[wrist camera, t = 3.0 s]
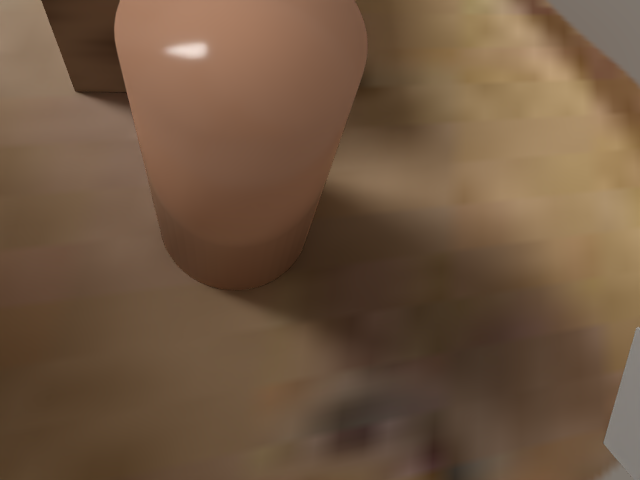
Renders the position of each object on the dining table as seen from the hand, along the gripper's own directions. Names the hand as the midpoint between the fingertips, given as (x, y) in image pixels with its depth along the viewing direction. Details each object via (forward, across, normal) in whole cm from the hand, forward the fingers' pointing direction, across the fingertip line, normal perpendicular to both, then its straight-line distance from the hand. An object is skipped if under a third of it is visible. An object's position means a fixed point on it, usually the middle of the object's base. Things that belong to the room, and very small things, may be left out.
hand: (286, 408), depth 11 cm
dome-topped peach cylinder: (+16, 0, -3) cm, 17 cm away
